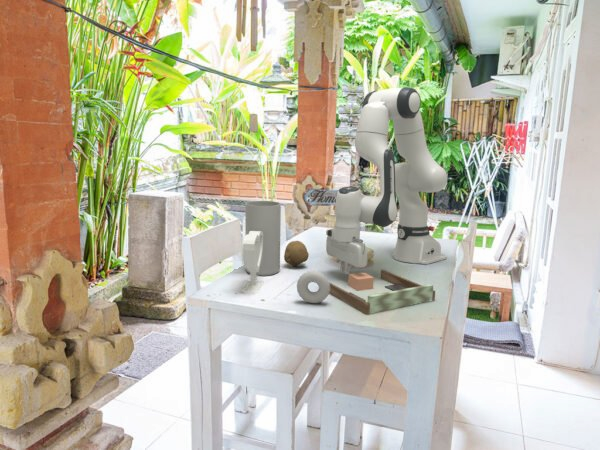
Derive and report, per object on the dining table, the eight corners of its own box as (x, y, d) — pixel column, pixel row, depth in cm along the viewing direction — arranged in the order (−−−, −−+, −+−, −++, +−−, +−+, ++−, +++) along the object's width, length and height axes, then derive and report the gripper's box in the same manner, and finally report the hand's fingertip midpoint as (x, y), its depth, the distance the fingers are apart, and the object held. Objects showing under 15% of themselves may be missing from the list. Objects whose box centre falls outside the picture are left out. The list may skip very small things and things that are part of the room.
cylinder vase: (281, 275, 164) (282, 206, 159) (246, 276, 161) (246, 206, 157) (277, 265, 176) (278, 200, 171) (244, 266, 174) (244, 201, 169)
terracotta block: (363, 283, 157) (364, 272, 157) (373, 289, 152) (373, 277, 151) (348, 285, 155) (348, 274, 154) (357, 291, 150) (357, 279, 149)
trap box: (382, 277, 163) (383, 264, 162) (434, 300, 142) (435, 284, 141) (320, 288, 151) (320, 273, 150) (366, 314, 130) (367, 297, 129)
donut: (295, 303, 137) (296, 271, 135) (297, 299, 140) (297, 268, 138) (328, 306, 135) (330, 273, 133) (330, 302, 139) (331, 270, 137)
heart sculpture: (256, 295, 143) (256, 238, 140) (240, 294, 144) (240, 238, 140) (265, 279, 159) (265, 228, 155) (250, 279, 159) (250, 228, 156)
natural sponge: (312, 265, 177) (313, 240, 175) (300, 271, 169) (301, 244, 167) (292, 262, 181) (292, 237, 179) (280, 267, 174) (280, 241, 172)
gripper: (372, 239, 151) (370, 280, 153) (338, 228, 168) (336, 264, 171) (357, 241, 148) (355, 283, 150) (323, 229, 165) (322, 266, 168)
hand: (345, 273), depth 161 cm, fingers closed
